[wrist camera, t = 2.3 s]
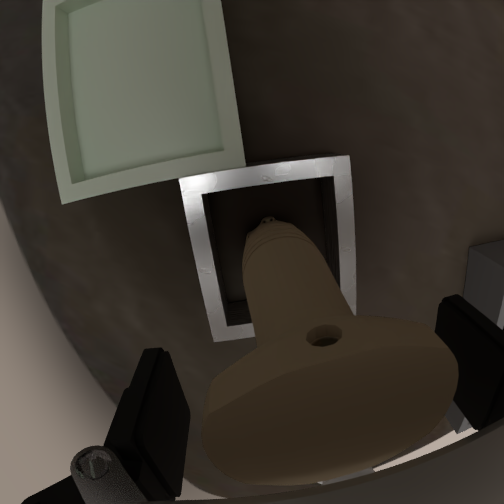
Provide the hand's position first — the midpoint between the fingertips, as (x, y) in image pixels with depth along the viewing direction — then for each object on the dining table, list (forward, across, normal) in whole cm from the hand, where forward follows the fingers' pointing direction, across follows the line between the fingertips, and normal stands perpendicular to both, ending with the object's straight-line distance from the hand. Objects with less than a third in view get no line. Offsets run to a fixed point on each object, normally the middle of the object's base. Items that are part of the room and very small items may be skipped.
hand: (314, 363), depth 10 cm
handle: (+12, 0, -1) cm, 12 cm away
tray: (+11, +7, -13) cm, 18 cm away
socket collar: (+12, 0, -1) cm, 12 cm away
